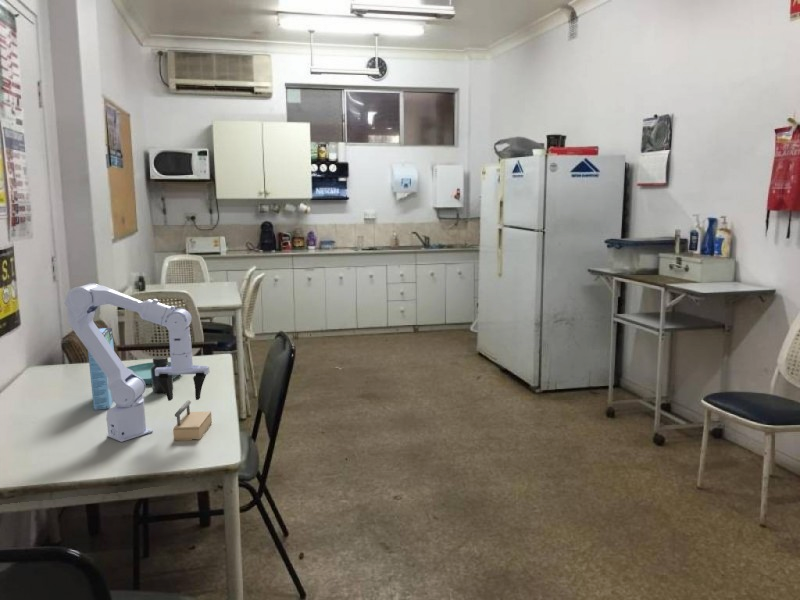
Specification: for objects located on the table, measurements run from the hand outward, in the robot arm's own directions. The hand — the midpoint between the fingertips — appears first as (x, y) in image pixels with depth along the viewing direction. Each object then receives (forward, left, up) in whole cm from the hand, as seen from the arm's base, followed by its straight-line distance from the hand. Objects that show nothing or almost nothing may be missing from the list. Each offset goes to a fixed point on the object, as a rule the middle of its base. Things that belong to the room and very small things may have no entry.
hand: (184, 399), depth 171 cm
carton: (+1, -2, -10) cm, 10 cm away
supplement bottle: (+18, +41, -10) cm, 46 cm away
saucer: (+25, +61, -10) cm, 67 cm away
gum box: (+1, +47, -10) cm, 48 cm away
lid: (+1, -2, -6) cm, 7 cm away
